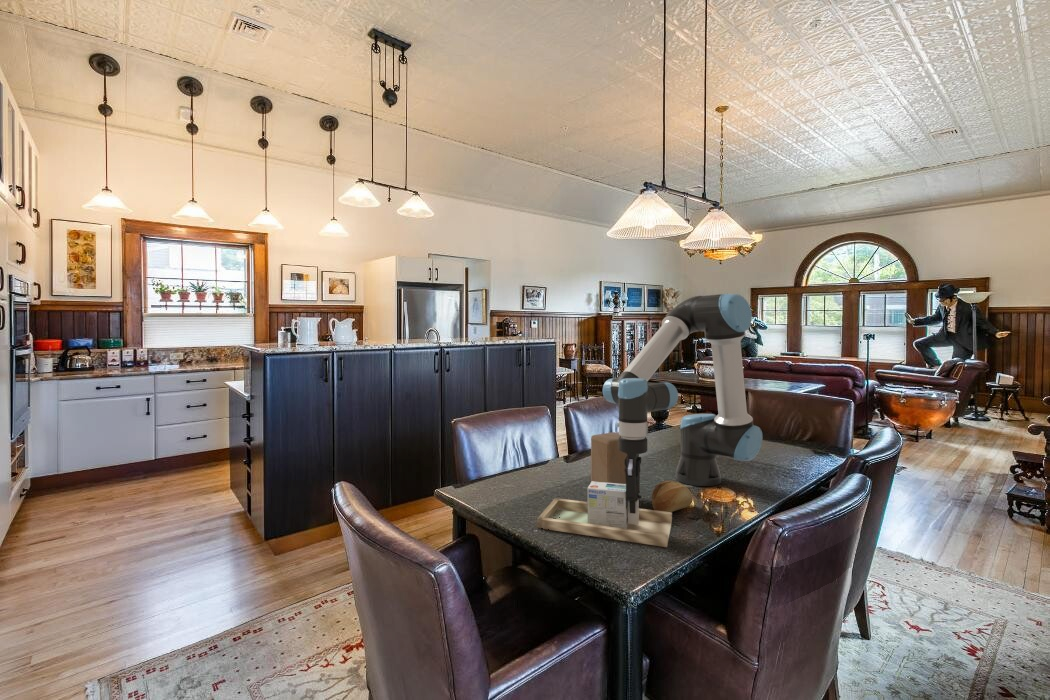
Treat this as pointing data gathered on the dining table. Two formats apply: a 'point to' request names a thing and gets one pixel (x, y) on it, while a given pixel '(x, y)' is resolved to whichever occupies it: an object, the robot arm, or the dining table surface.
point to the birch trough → (575, 520)
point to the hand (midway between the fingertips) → (633, 523)
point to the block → (607, 459)
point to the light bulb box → (607, 504)
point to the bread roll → (671, 496)
